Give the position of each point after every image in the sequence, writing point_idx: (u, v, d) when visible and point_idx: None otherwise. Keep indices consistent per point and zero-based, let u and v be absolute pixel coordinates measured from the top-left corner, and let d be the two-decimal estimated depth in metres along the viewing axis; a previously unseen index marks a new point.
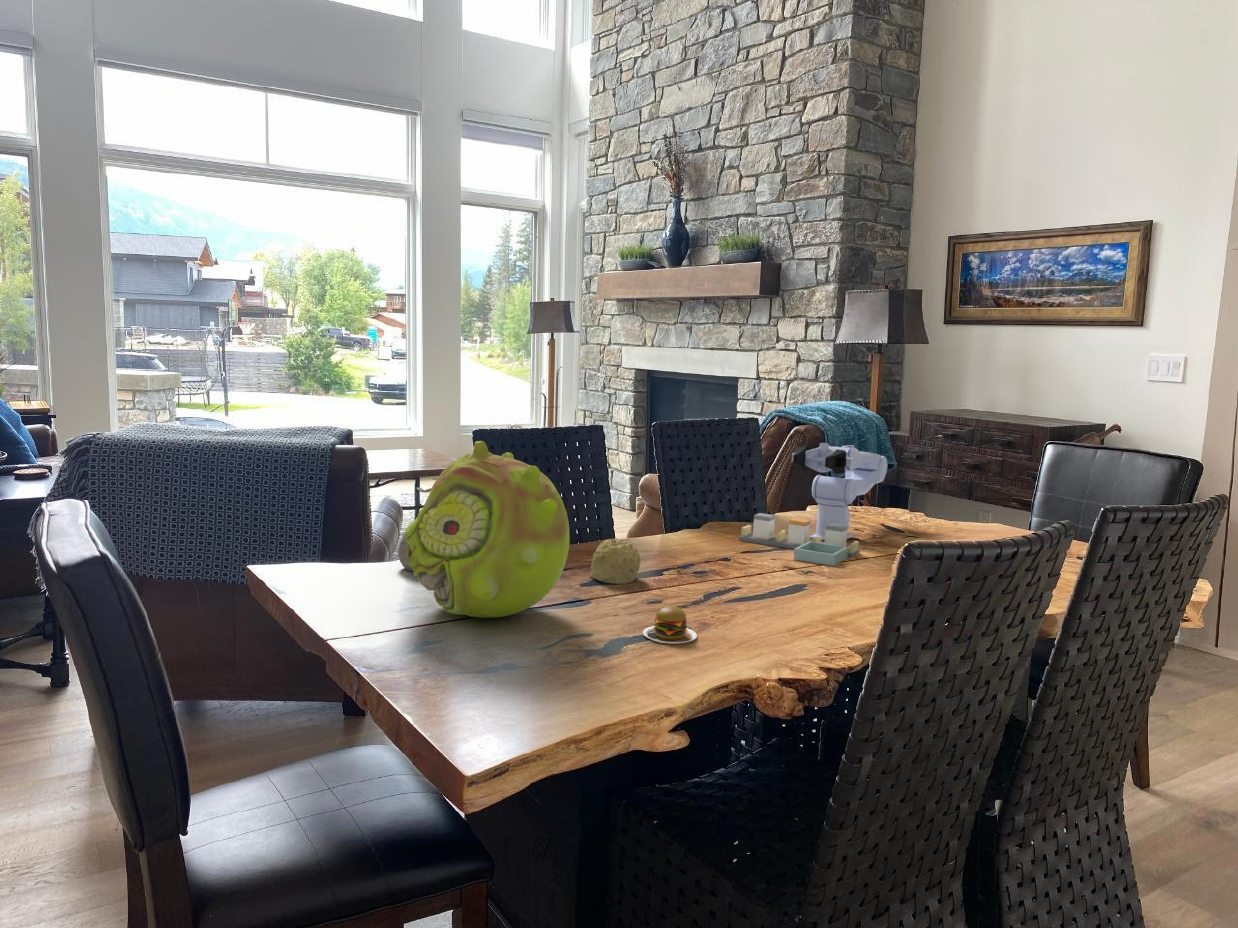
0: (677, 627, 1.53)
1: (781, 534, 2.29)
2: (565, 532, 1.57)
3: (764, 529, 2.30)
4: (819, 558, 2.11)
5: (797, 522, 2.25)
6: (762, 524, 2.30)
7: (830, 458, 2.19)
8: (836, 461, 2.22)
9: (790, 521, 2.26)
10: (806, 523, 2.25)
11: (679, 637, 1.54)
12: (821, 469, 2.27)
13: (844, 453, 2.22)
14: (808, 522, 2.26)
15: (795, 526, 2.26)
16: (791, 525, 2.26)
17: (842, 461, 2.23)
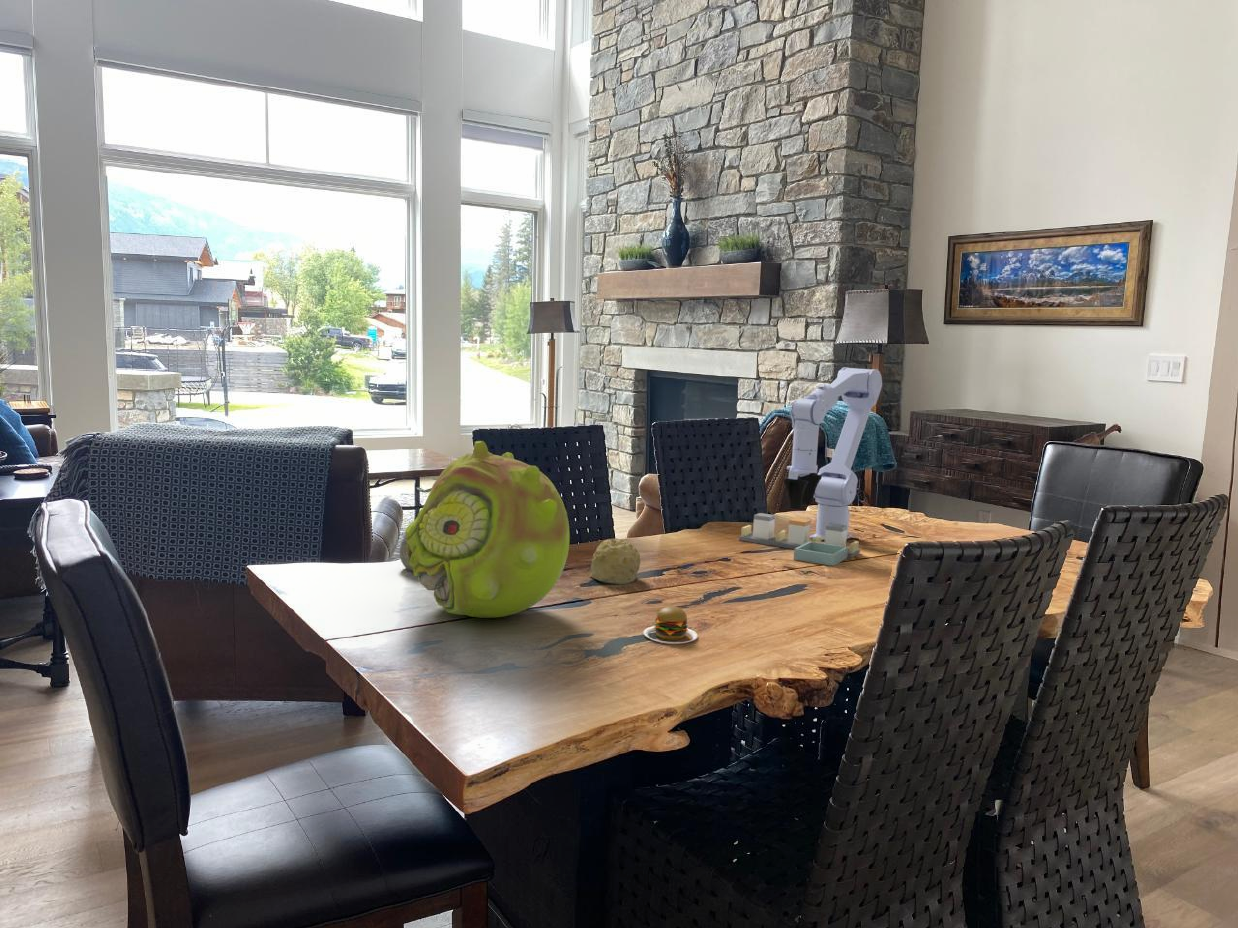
0: (678, 627, 1.53)
1: (781, 534, 2.29)
2: (565, 532, 1.57)
3: (764, 529, 2.30)
4: (819, 558, 2.11)
5: (797, 522, 2.25)
6: (762, 524, 2.30)
7: (791, 503, 2.23)
8: (796, 484, 2.22)
9: (790, 521, 2.26)
10: (806, 523, 2.25)
11: (680, 637, 1.54)
12: None
13: (785, 482, 2.21)
14: (808, 522, 2.26)
15: (795, 526, 2.26)
16: (791, 525, 2.26)
17: (794, 482, 2.21)
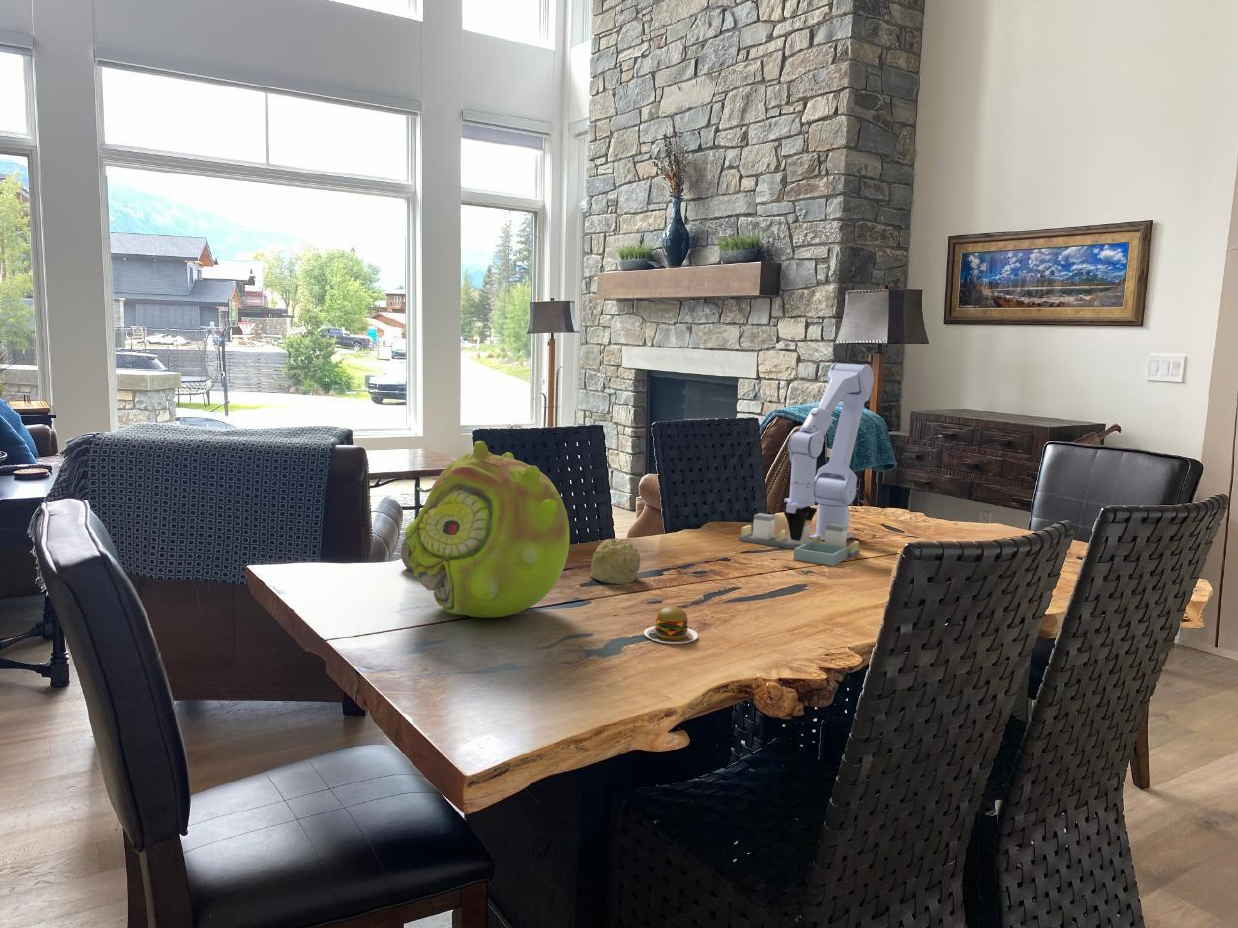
0: (679, 627, 1.53)
1: (781, 534, 2.29)
2: (565, 532, 1.57)
3: (764, 529, 2.30)
4: (819, 558, 2.11)
5: None
6: (762, 524, 2.30)
7: (791, 535, 2.25)
8: (796, 516, 2.24)
9: None
10: (806, 523, 2.25)
11: (680, 637, 1.54)
12: None
13: (786, 514, 2.24)
14: (808, 522, 2.26)
15: None
16: None
17: None
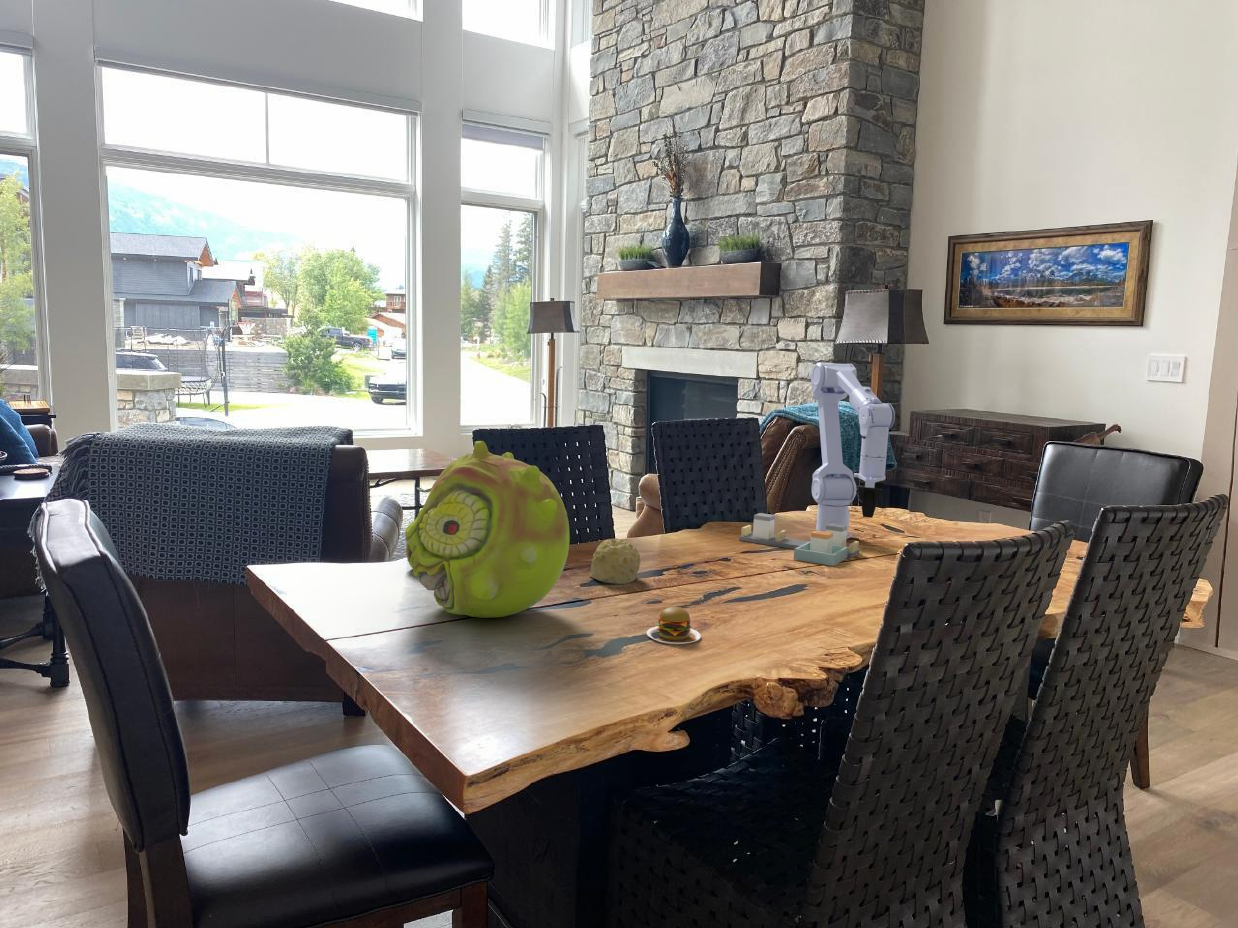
0: (682, 627, 1.53)
1: (781, 534, 2.29)
2: (565, 532, 1.57)
3: (764, 529, 2.30)
4: (819, 558, 2.11)
5: (819, 535, 2.14)
6: (762, 524, 2.30)
7: (864, 512, 2.15)
8: (869, 492, 2.14)
9: (812, 534, 2.15)
10: (829, 536, 2.14)
11: (684, 637, 1.54)
12: None
13: (860, 490, 2.13)
14: (831, 535, 2.15)
15: (817, 539, 2.14)
16: (813, 538, 2.15)
17: None
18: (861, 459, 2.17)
